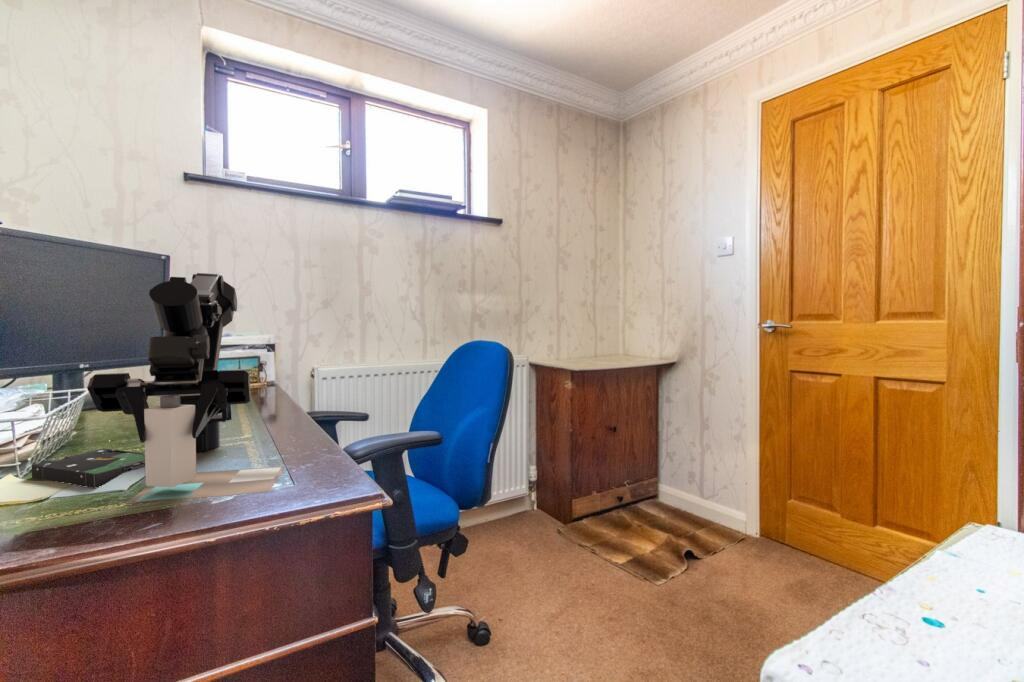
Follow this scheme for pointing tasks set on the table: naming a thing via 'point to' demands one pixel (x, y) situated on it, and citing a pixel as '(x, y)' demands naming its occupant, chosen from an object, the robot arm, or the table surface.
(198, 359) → the robot arm
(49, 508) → the table surface
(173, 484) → the capped white bottle
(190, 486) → the board
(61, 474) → the disk drive
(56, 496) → the table surface
